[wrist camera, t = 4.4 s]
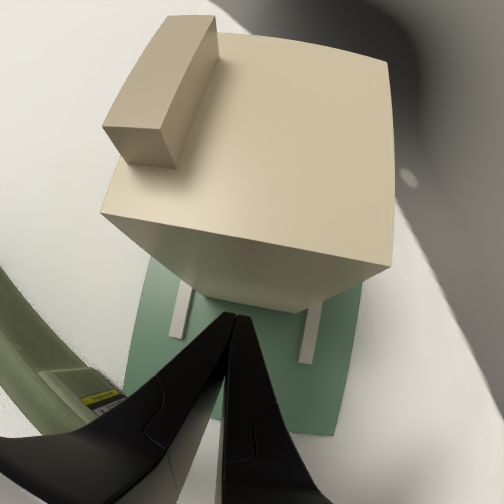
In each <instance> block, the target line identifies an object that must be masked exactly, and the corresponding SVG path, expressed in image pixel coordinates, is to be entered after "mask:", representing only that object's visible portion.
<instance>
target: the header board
mask: <svg viewBox="0 0 504 504" xmlns="http://www.w3.org/2000/svg"><path fill="white" fill-rule="evenodd" d="M361 287H362V282H361V283H359V284H357V285H355V286H353V287H351V288H349V289H347V290H345V291H343V292H341V293H339V294H337V295H334V296H332V297H330V298H328V299H326V300H324V301H322V302H320V303H318V304H316V305H314V306H311V307H309V308H307V309H305V310H303V311H301V312H298V313H296V314H294V313H288V312H283V311H277V310H272V309H266V308H261V307H256V306H251V305H245V304H240V303H235V302H230V301H225V300H221V299H216V298H211V297H206V296H202V295H201V294H200V293H198V292H197V291H196V290H194V289H193V288H192V287H190V286H189V285H188V284H186V283H185V282H184V281H183V280H181V279H180V278H179V277H177V276H176V275H175V274H174V273H172V272H171V271H170V270H169V269H167V268H166V267H165V266H163V265H162V264H161V263H160V262H158V261H157V260H156V259H155V258H153V257H152V256H151V257H150V261H149V265H148V269H147V273H146V277H145V281H144V285H143V290H142V294H141V298H140V303H139V307H138V312H137V316H136V321H135V326H134V331H133V335H132V341H131V346H130V351H129V356H128V362H127V368H126V373H125V379H124V386H123V392H122V393H125V394H128V395H131V394H133V393H134V392H135V391H136V390H137V389H139V388H140V387H141V386H142V385H143V384H145V383H146V382H147V381H148V380H149V379H150V378H151V377H152V376H155V374H156V373H157V372H158V371H159V370H160V369H161V368H163V367H164V366H165V365H166V364H167V363H168V362H169V361H170V360H171V359H172V358H174V357H175V356H176V355H177V354H178V353H179V352H180V351H181V350H182V349H183V348H184V347H186V346H187V345H188V344H189V343H190V342H191V341H192V340H193V339H194V338H195V337H196V336H198V335H199V334H200V333H201V332H202V331H203V330H204V329H205V328H206V327H207V326H208V325H209V324H210V323H212V322H213V321H214V320H215V319H216V318H217V317H218V316H219V315H220V314H221V313H222V312H224V311H227V312H232V313H236V314H237V315H238V314H242V315H247V316H250V317H251V318H252V321H253V324H254V327H255V331H256V334H257V337H258V340H259V344H260V347H261V350H262V353H263V357H264V360H265V363H266V366H267V370H268V373H269V376H270V379H271V382H272V386H273V389H274V392H275V395H276V398H277V403H278V404H279V407H280V410H281V414H282V416H283V419H284V422H285V425H286V427H287V430H288V431H290V432H298V433H307V434H317V435H329V436H333V435H334V431H335V427H336V423H337V419H338V415H339V410H340V406H341V402H342V397H343V393H344V388H345V383H346V378H347V373H348V368H349V363H350V358H351V352H352V347H353V341H354V335H355V329H356V322H357V316H358V309H359V302H360V294H361ZM224 381H225V378H224ZM223 390H224V382H223V385H222V388H221V390H220V393H219V395H218V398H217V401H216V403H215V406H214V408H213V411H212V414H211V416H210V418H215V419H219V420H221V414H222V402H223Z"/></svg>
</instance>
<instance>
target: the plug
mask: <svg viewBox="0 0 504 504" xmlns="http://www.w3.org/2000/svg"><path fill="white" fill-rule="evenodd" d="M102 127H103V129H104V130H105V132H106V133H107V135H108V136H109V138H110V139H111V141H112V142H113V144H114V145H115V147H116V148H117V150H118V151H119V153H120V154H121V156H120V158H119V161H118V163H117V166H116V168H115V171H114V174H113V176H112V179H111V181H110V184H109V187H108V190H107V192H106V195H105V198H104V201H103V204H102V207H101V210H100V213H101V214H102V215H103V216H104V217H105V218H106V219H108V220H109V221H110V222H111V223H112V224H113V225H115V226H116V227H117V228H118V229H119V230H121V231H122V232H123V233H124V234H125V235H127V236H128V237H129V238H130V239H131V240H133V241H134V242H135V243H136V244H137V245H139V246H140V247H141V248H142V249H144V250H145V251H146V252H147V253H148V254H150V255H151V256H152V257H153V258H155V259H156V260H157V261H158V262H160V263H161V264H162V265H163V266H165V267H166V268H167V269H169V270H170V271H171V272H172V273H174V274H175V275H176V276H177V277H179V278H180V279H181V280H183V281H184V282H185V283H186V284H188V285H189V286H190V287H192V288H193V289H194V290H196V291H197V292H198V293H200V294H201V295H202V296H206V297H211V298H216V299H221V300H225V301H230V302H235V303H240V304H245V305H251V306H256V307H261V308H266V309H272V310H277V311H283V312H288V313H294V314H296V313H298V312H301V311H303V310H305V309H307V308H309V307H311V306H314V305H316V304H318V303H320V302H322V301H324V300H326V299H328V298H330V297H332V296H334V295H337V294H339V293H341V292H343V291H345V290H347V289H349V288H351V287H353V286H355V285H357V284H359V283H361V282H363V281H365V280H367V279H369V278H371V277H372V276H374V275H376V274H378V273H380V272H382V271H384V270H386V269H388V268H390V267H391V264H392V251H393V234H394V207H395V162H394V136H393V135H394V134H393V119H392V105H391V95H390V84H389V75H388V67H387V62H384V61H381V60H377V59H374V58H371V57H367V56H363V55H360V54H356V53H352V52H348V51H344V50H340V49H335V48H331V47H326V46H321V45H316V44H311V43H305V42H300V41H294V40H287V39H280V38H273V37H265V36H257V35H246V34H234V33H218V32H217V29H216V19H215V16H210V15H181V16H167V18H166V19H165V21H164V22H163V23H162V25H161V26H160V28H159V29H158V30H157V32H156V33H155V35H154V36H153V38H152V39H151V41H150V42H149V44H148V45H147V47H146V48H145V50H144V51H143V53H142V55H141V56H140V58H139V59H138V61H137V63H136V64H135V66H134V68H133V69H132V71H131V73H130V74H129V76H128V78H127V79H126V81H125V83H124V85H123V86H122V88H121V90H120V92H119V94H118V96H117V97H116V99H115V101H114V103H113V105H112V107H111V109H110V111H109V113H108V115H107V117H106V119H105V121H104V123H103V125H102Z"/></svg>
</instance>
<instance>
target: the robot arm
mask: <svg viewBox="0 0 504 504" xmlns="http://www.w3.org/2000/svg"><path fill="white" fill-rule="evenodd" d="M224 378H225V381H224ZM223 382H224V390H223V402H222V414H221V426H220V439H219V452H218V465H217V479H216V493H215V504H333V503H332V502H331V501H330V500H329V499H327V498H326V497H325V496H324V495H323V494H322V493H321V491H320V490H319V489H318V488H317V486H316V485H315V483H314V481H313V480H312V478H311V476H310V474H309V472H308V470H307V468H306V466H305V465H304V463H303V461H302V459H301V457H300V455H299V453H298V451H297V449H296V447H295V445H294V443H293V441H292V439H291V436H290V434H289V432H288V430H287V427H286V425H285V422H284V419H283V416H282V414H281V410H280V407H279V404H278V403H277V398H276V395H275V392H274V389H273V386H272V382H271V379H270V376H269V373H268V370H267V366H266V363H265V360H264V357H263V353H262V350H261V347H260V344H259V340H258V337H257V334H256V331H255V327H254V324H253V321H252V318H251V317H250V316H247V315H242V314H238V315H237V314H236V313H232V312H227V311H224V312H222V313H221V314H220V315H219V316H218V317H217V318H216V319H215V320H214V321H213V322H212V323H210V324H209V325H208V326H207V327H206V328H205V329H204V330H203V331H202V332H201V333H200V334H199V335H198V336H196V337H195V338H194V339H193V340H192V341H191V342H190V343H189V344H188V345H187V346H186V347H184V348H183V349H182V350H181V351H180V352H179V353H178V354H177V355H176V356H175V357H174V358H172V359H171V360H170V361H169V362H168V363H167V364H166V365H165V366H164V367H163V368H161V369H160V370H159V371H158V372H157V373H156V374H155V376H152V377H151V378H150V379H149V380H148V381H147V382H146V383H145V384H143V385H142V386H141V387H140V388H139V389H137V390H136V391H135V392H134V393H133V394H131V395H130V396H128V397H127V398H126V399H124V400H123V401H121V402H120V403H119V404H117V405H116V406H114V407H113V408H111V409H110V410H108V411H106V412H105V413H103V414H102V415H100V416H99V417H97V418H96V419H94V420H93V421H91V422H90V423H88V424H86V425H85V426H83V427H81V428H79V429H76V430H74V431H70V432H65V433H59V434H51V435H43V436H33V437H23V438H5V437H0V504H176V502H177V500H178V498H179V495H180V492H181V490H182V487H183V485H184V482H185V480H186V477H187V475H188V472H189V470H190V467H191V465H192V462H193V460H194V457H195V455H196V452H197V450H198V447H199V445H200V442H201V439H202V437H203V434H204V432H205V429H206V427H207V424H208V421H209V419H210V416H211V414H212V411H213V408H214V406H215V403H216V401H217V398H218V395H219V393H220V390H221V388H222V385H223Z"/></svg>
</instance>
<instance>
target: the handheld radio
mask: <svg viewBox="0 0 504 504" xmlns="http://www.w3.org/2000/svg"><path fill="white" fill-rule="evenodd" d="M0 386H1V387H2V388H3V390H4V391H5V392H6V393H7V395H8V396H9V397H10V398H11V400H12V401H13V402H14V403H15V405H16V406H17V407H18V408H19V409H20V411H21V412H22V413H23V414H24V415H25V416H26V418H27V419H28V420H29V421H30V422H31V423H32V424H33V425H34V426H35V428H36V429H37V430H38V431H39V432H40V433H41V434H42V435H51V434H59V433H65V432H70V431H74V430H76V429H79V428H81V427H83V426H85V425H86V424H88V423H90V422H91V421H93V420H94V419H96V418H97V417H99V416H100V415H102V414H103V413H105V412H106V411H108V410H110V409H111V408H113V407H114V406H116V405H117V404H119V403H120V402H121V401H123V400H124V399H126V397H125V396H124V395H123V394H122V393H120V392H119V391H118V390H117V389H116V388H115V387H113V386H112V385H111V384H110V383H109V382H108V381H107V380H105V379H104V378H103V377H102V376H101V375H100V374H99V373H98V372H97V371H96V370H95V369H93V368H92V367H88V366H87V365H86V364H85V363H84V362H83V361H82V360H81V359H80V358H79V357H78V356H77V355H76V354H75V353H74V352H73V351H72V350H71V349H70V348H69V347H68V346H67V345H66V344H65V343H64V342H63V341H62V340H61V339H60V338H59V337H58V336H57V335H56V334H55V333H54V332H53V331H52V329H51V328H50V327H49V326H48V325H47V324H46V323H45V322H44V320H43V319H42V318H41V317H40V316H39V315H38V314H37V312H36V311H35V310H34V309H33V308H32V307H31V305H30V304H29V303H28V302H27V300H26V299H25V298H24V297H23V296H22V294H21V293H20V292H19V291H18V289H17V288H16V287H15V285H14V284H13V283H12V281H11V280H10V279H9V277H8V276H7V275H6V273H5V272H4V271H3V269H2V268H1V267H0Z"/></svg>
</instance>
